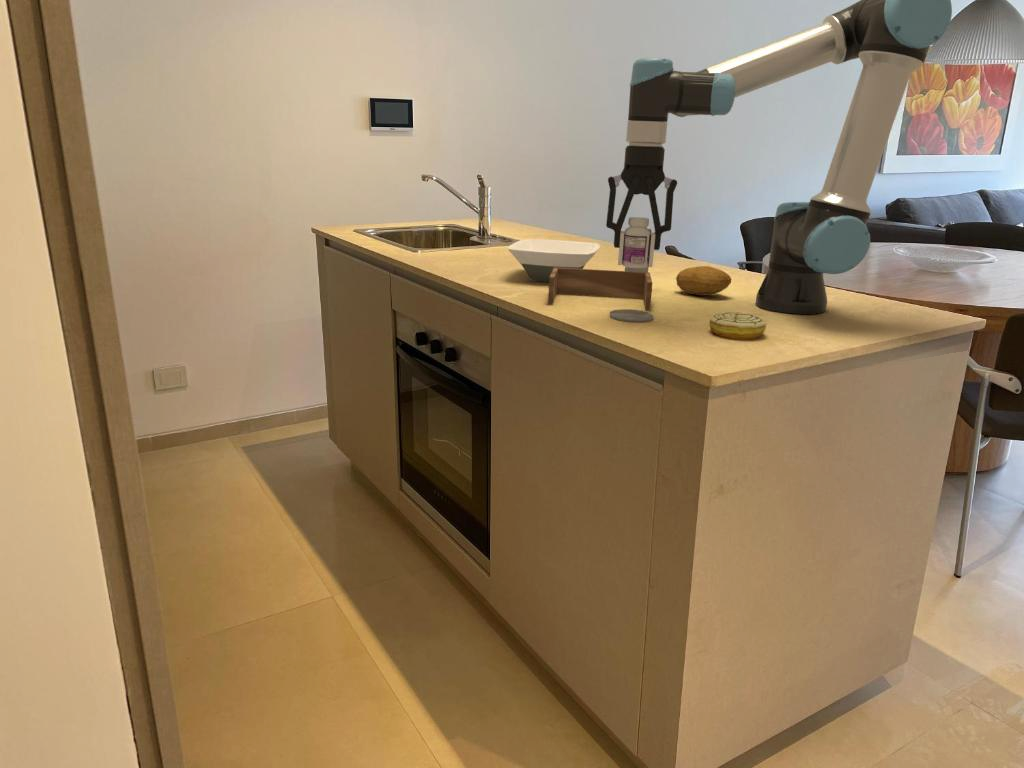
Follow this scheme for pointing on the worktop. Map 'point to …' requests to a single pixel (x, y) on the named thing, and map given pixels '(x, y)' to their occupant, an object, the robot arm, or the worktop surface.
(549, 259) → the bowl
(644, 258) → the pill bottle
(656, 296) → the worktop surface
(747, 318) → the decorated donut
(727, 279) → the potato
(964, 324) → the worktop surface
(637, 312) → the coaster
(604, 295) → the wooden u-shaped frame
